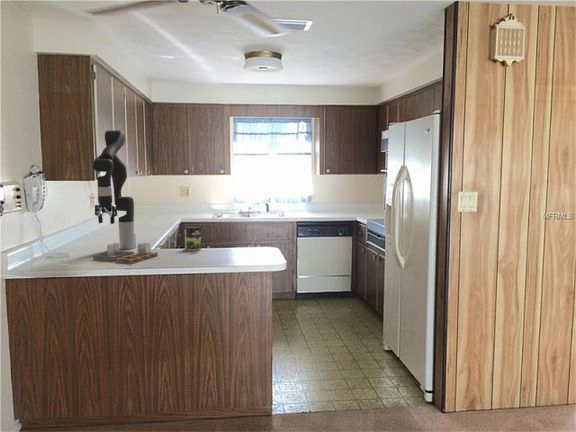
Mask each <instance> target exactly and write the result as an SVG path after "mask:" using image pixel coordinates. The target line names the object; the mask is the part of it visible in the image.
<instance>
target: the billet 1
mask: <svg viewBox="0 0 576 432" xmlns="http://www.w3.org/2000/svg"><path fill="white" fill-rule="evenodd" d="M106 247H107V248H106V249H107V251H106V252H107V254H108V256H112V257H115V256H119V255H120V251H121V249H120V243H119V242H118V243H117V242H114V243H113V242H112V243H110V244H106Z"/></svg>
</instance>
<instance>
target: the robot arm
mask: <svg viewBox="0 0 576 432" xmlns="http://www.w3.org/2000/svg"><path fill="white" fill-rule="evenodd" d="M104 141H105V145H106V147H104V148H103V150H102V152H101V153H100V155H99V156H97V157H96V158H95V159H94V160H93V162H92V169H93V170H94V171H95V172H100V173H105V174H103V175H101V176H98V177H97V203H98V204H95V205H94V216H97V220H98V224H103V223H104V222H103V221H104V220H103V219H104V218H103V215H104V213H105V214H107V215H109V220H110V224H111V225H114V224H115V217H117V216H118V212H126V213H125V214H124V215H122V216H119V217H118V220H117V221H118V234H119V235H118V237H119V238H118V239H119V245H120V250H131V249H134V248H136V247H137V242H136V232H135V223H134V221H135V218H134V217H135V202H134V198H133V197H132V196H122V189H123V186H124V184H125V183H126V181H127V178H128V173H127V172H128V171H127V166H126V163H125V162H124V161H123V160H122V159H121V157H120V156H118V154H117V153H118V152H119V151H120V150H121V148H122V147H123V146H124V144H125V142H126V134H125V132H124V131H123V130H116V129H115V130H106V131H105V132H104ZM112 186H113V189H112ZM112 190H113V191H112ZM113 200H114V205H112V203H113Z"/></svg>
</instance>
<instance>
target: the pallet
mask: <svg viewBox="0 0 576 432" xmlns="http://www.w3.org/2000/svg"><path fill="white" fill-rule="evenodd" d="M158 255H159V253H158V252H157V251H156V252H155V251H150V254H147V255H143V254H138V252H134V254H131V255H127V256H123V257H120V258H116V262H115V263H119V264H128V265H129V264H130V266H133V264H135V263H139V262H143V261H146V260H149V259H153V258H156V257H158ZM131 264H132V265H131Z"/></svg>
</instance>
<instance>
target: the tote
mask: <svg viewBox="0 0 576 432" xmlns="http://www.w3.org/2000/svg"><path fill="white" fill-rule="evenodd" d="M134 253H135V251H130V250H129V251H126V250H120V255H119V256H115V257H112V256H108V254H107V251H105V252H99V253H96V254H93V255H92V259H93V261H105V262H115V263H117V262H116V258H120V257H123V256H127V255H131V254H134Z"/></svg>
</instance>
